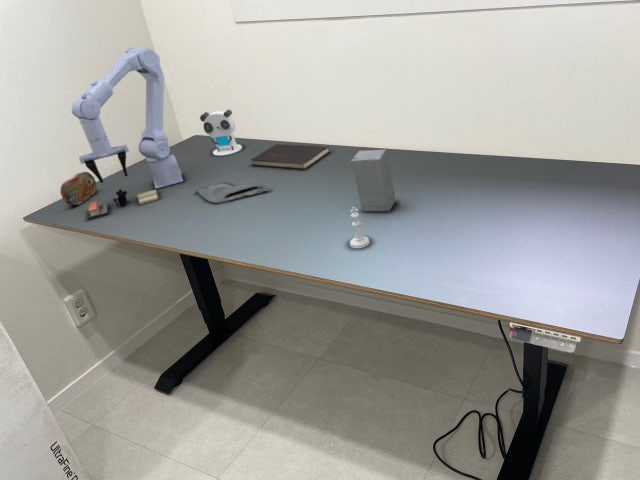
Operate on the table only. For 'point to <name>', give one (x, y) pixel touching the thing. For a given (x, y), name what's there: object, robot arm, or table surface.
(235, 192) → the cloth
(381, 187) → the cosmetic box
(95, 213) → the sushi plate
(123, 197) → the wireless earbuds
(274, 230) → the table surface
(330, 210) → the table surface
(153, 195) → the napkin
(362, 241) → the chess piece
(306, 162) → the hardcover book
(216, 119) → the panda figurine
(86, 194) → the tin
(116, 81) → the robot arm
